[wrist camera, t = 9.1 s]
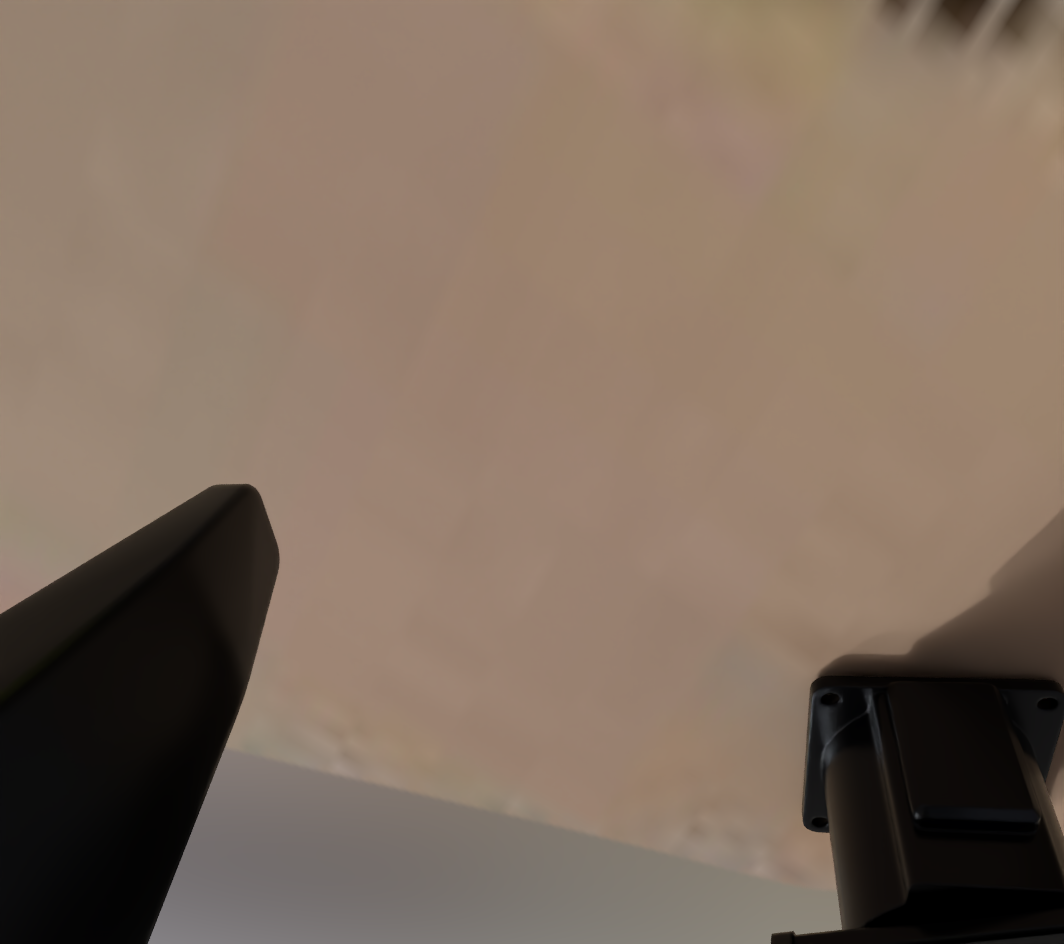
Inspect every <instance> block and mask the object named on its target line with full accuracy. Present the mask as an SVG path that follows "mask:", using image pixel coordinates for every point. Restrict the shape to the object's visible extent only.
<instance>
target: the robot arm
mask: <svg viewBox="0 0 1064 944" xmlns="http://www.w3.org/2000/svg"><path fill="white" fill-rule="evenodd" d="M278 569H279V549H278V545H277V542H276V539H275V536H274V533H273V530H272V527H271V524H270V521H269V518H268V516H267V513H266V510H265V507H264V504H263V501H262V498H261V496H260V494H259V492H258V491H257V489H256V488H254V487H253V486H251V485H249V484H221V485H214V486H211V487H209V488H207V489H206V490H204V491H203V492H201V493H199V494H198V495H196V496H194V497H193V498H191V499H189V500H188V501H186V502H184V503H183V504H181V505H179V506H178V507H176V508H175V509H173V510H171V511H170V512H168V513H166V514H165V515H163V516H161V517H160V518H158V519H156V520H155V521H153V522H151V523H150V524H148V525H147V526H145V527H143V528H142V529H140V530H138V531H137V532H135V533H133V534H132V535H130V536H128V537H127V538H125V539H123V540H122V541H120V542H119V543H117V544H115V545H114V546H112V547H110V548H109V549H107V550H105V551H104V552H102V553H100V554H99V555H97V556H95V557H94V558H92V559H91V560H89V561H87V562H86V563H84V564H82V565H81V566H79V567H77V568H76V569H74V570H72V571H71V572H69V573H67V574H66V575H64V576H63V577H61V578H59V579H58V580H56V581H54V582H53V583H51V584H49V585H48V586H46V587H44V588H43V589H41V590H39V591H38V592H36V593H35V594H33V595H31V596H30V597H28V598H26V599H25V600H23V601H21V602H20V603H18V604H16V605H15V606H13V607H11V608H10V609H8V610H7V611H5V612H3V613H2V614H0V944H148V941H149V939H150V936H151V934H152V931H153V929H154V926H155V923H156V921H157V918H158V916H159V913H160V911H161V908H162V906H163V903H164V901H165V898H166V896H167V893H168V890H169V888H170V885H171V883H172V880H173V877H174V875H175V873H176V870H177V868H178V865H179V862H180V860H181V857H182V855H183V852H184V850H185V847H186V845H187V842H188V840H189V837H190V834H191V832H192V829H193V827H194V824H195V822H196V819H197V817H198V814H199V811H200V809H201V806H202V804H203V801H204V799H205V796H206V794H207V791H208V789H209V786H210V783H211V781H212V778H213V776H214V773H215V771H216V768H217V766H218V763H219V761H220V758H221V755H222V753H223V751H224V748H225V745H226V743H227V740H228V738H229V735H230V733H231V730H232V728H233V725H234V723H235V720H236V717H237V715H238V712H239V709H240V706H241V704H242V701H243V698H244V695H245V692H246V689H247V685H248V682H249V679H250V675H251V671H252V668H253V664H254V660H255V656H256V653H257V649H258V645H259V641H260V638H261V634H262V630H263V626H264V623H265V619H266V615H267V611H268V608H269V604H270V600H271V596H272V592H273V589H274V585H275V581H276V577H277V574H278ZM828 693H834V694H831V695H827V694H828ZM1043 698H1047V699H1043ZM1063 720H1064V689H1063V687H1062V686H1061V685H1060V684H1059V683H1057V682H1055V681H1052V680H1034V679H979V678H923V677H868V676H824V677H821V678H818V679H816V680H815V681H814V682H813V683H812V684H811V687H810V698H809V712H808V727H807V742H806V756H805V771H804V785H803V800H802V817H803V823H804V826H805V827H806V828H807V829H809V830H811V831H815V832H826V833H830V840H831V847H832V855H833V862H834V870H835V878H836V885H837V893H838V900H839V908H840V915H841V922H842V930H837V931H827V932H819V933H809V934H800V935H796V934H795V933H794V932H793V931H792V932H783V933H774V934H772V936H771V944H1064V836H1063V833H1062V830H1061V827H1060V825H1059V822H1058V819H1057V816H1056V813H1055V810H1054V808H1053V805H1052V802H1051V799H1050V796H1049V794H1048V791H1047V788H1046V785H1045V782H1046V778H1047V775H1048V771H1049V768H1050V764H1051V761H1052V758H1053V754H1054V751H1055V747H1056V744H1057V741H1058V737H1059V734H1060V730H1061V727H1062V723H1063Z"/></svg>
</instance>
